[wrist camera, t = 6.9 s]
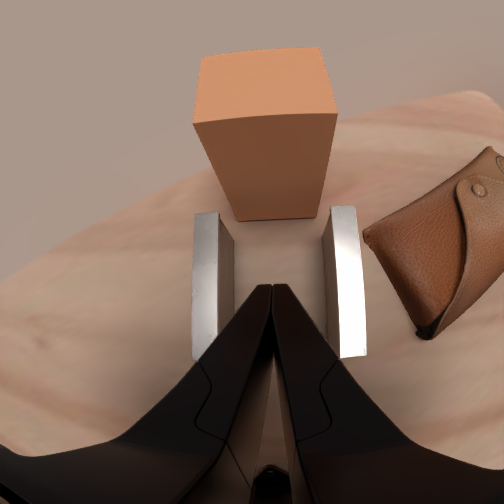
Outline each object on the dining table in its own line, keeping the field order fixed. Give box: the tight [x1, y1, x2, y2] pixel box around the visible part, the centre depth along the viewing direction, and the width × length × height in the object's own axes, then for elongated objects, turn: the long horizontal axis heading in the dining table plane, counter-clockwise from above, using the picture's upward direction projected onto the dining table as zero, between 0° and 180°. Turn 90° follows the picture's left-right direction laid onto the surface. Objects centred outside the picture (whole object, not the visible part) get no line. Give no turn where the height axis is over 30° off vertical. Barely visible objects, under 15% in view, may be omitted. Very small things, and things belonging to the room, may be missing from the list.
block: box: [193, 48, 338, 221], centre depth 14 cm, size 4×5×10 cm
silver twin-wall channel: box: [192, 206, 366, 360], centre depth 15 cm, size 7×8×5 cm
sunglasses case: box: [363, 146, 504, 341], centre depth 16 cm, size 18×7×7 cm
